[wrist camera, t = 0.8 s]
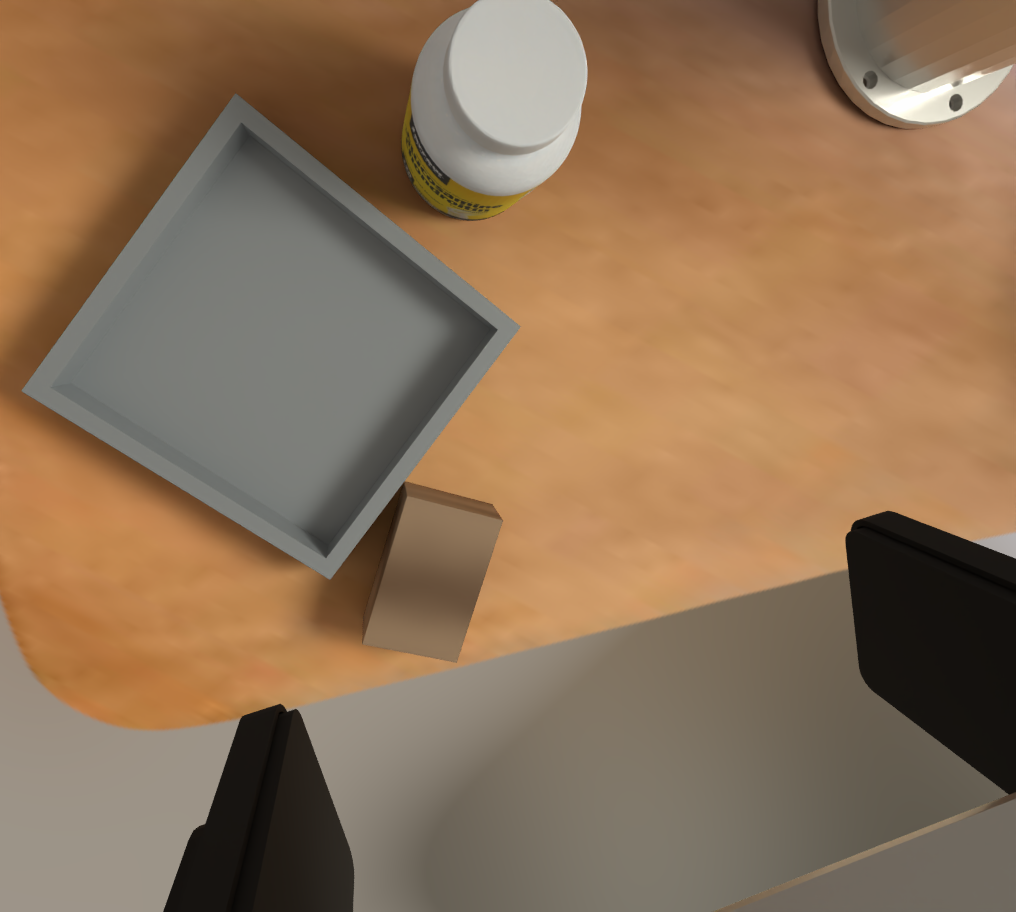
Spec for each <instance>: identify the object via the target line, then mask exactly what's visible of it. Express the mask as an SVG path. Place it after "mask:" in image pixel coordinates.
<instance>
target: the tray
mask: <svg viewBox="0 0 1016 912" xmlns="http://www.w3.org/2000/svg"><path fill="white" fill-rule="evenodd" d="M519 328H520V326H519V325H518V324H517V323H516V322H514V321H513V320H512V319H511V318H509V317H508V316H507V315H506V314H505V313H503V312H502V311H501V310H500V309H498V308H497V307H496V306H495V305H494V304H492V303H491V302H490V301H489V300H487V299H486V298H485V297H484V296H483V295H481V294H480V293H479V292H478V291H476V290H475V289H474V288H473V287H472V286H470V285H469V284H468V283H467V282H466V281H464V280H463V279H462V278H461V277H459V276H458V275H457V274H456V273H455V272H453V271H452V270H451V269H450V268H448V267H447V266H446V265H445V264H444V263H442V262H441V261H440V260H439V259H437V258H436V257H435V256H434V255H433V254H431V253H430V252H429V251H428V250H426V249H425V248H424V247H423V246H422V245H420V244H419V243H418V242H417V241H415V240H414V239H413V238H412V237H411V236H409V235H408V234H407V233H406V232H404V231H403V230H402V229H401V228H400V227H398V226H397V225H396V224H395V223H393V222H392V221H391V220H390V219H389V218H387V217H386V216H385V215H384V214H383V213H381V212H380V211H379V210H378V209H376V208H375V207H374V206H373V205H372V204H370V203H369V202H368V201H367V200H365V199H364V198H363V197H362V196H361V195H359V194H358V193H357V192H356V191H354V190H353V189H352V188H351V187H350V186H348V185H347V184H346V183H345V182H343V181H342V180H341V179H340V178H339V177H337V176H336V175H335V174H334V173H332V172H331V171H330V170H329V169H328V168H326V167H325V166H324V165H323V164H321V163H320V162H319V161H318V160H317V159H315V158H314V157H313V156H312V155H310V154H309V153H308V152H307V151H306V150H304V149H303V148H302V147H301V146H300V145H298V144H297V143H296V142H295V141H293V140H292V139H291V138H290V137H289V136H287V135H286V134H285V133H284V132H282V131H281V130H280V129H279V128H278V127H276V126H275V125H274V124H273V123H271V122H270V121H269V120H268V119H267V118H265V117H264V116H263V115H262V114H260V113H259V112H258V111H257V110H256V109H254V108H253V107H252V106H251V105H249V104H248V103H247V102H246V101H245V100H243V99H242V98H241V97H240V96H238V95H237V94H236V93H235V95H234V96H233V97H232V99H231V100H230V102H229V103H228V104H227V106H226V107H225V109H224V110H223V111H222V113H221V114H220V115H219V117H218V118H217V120H216V121H215V122H214V124H213V125H212V127H211V128H210V129H209V131H208V132H207V134H206V135H205V136H204V138H203V139H202V141H201V142H200V143H199V145H198V146H197V147H196V149H195V150H194V152H193V153H192V154H191V156H190V157H189V159H188V160H187V161H186V163H185V164H184V166H183V167H182V168H181V170H180V171H179V172H178V174H177V175H176V177H175V178H174V179H173V181H172V182H171V184H170V185H169V186H168V188H167V189H166V191H165V192H164V193H163V195H162V196H161V198H160V199H159V200H158V202H157V203H156V204H155V206H154V207H153V209H152V210H151V211H150V213H149V214H148V216H147V217H146V218H145V220H144V221H143V223H142V224H141V225H140V227H139V228H138V230H137V231H136V232H135V234H134V235H133V236H132V238H131V239H130V241H129V242H128V243H127V245H126V246H125V248H124V249H123V250H122V252H121V253H120V255H119V256H118V257H117V259H116V260H115V261H114V263H113V264H112V266H111V267H110V268H109V270H108V271H107V273H106V274H105V275H104V277H103V278H102V280H101V281H100V282H99V284H98V285H97V287H96V288H95V289H94V291H93V292H92V293H91V295H90V296H89V298H88V299H87V300H86V302H85V303H84V305H83V306H82V307H81V309H80V310H79V312H78V313H77V314H76V316H75V317H74V319H73V320H72V321H71V323H70V324H69V325H68V327H67V328H66V330H65V331H64V332H63V334H62V335H61V337H60V338H59V339H58V341H57V342H56V344H55V345H54V346H53V348H52V349H51V350H50V352H49V353H48V355H47V356H46V357H45V359H44V360H43V362H42V363H41V364H40V366H39V367H38V369H37V370H36V371H35V373H34V374H33V376H32V377H31V378H30V380H29V381H28V382H27V384H26V385H25V387H24V388H23V389H22V392H24V393H25V394H27V395H29V396H30V397H32V398H33V399H35V400H37V401H38V402H40V403H42V404H43V405H45V406H47V407H48V408H50V409H51V410H53V411H55V412H56V413H58V414H60V415H61V416H63V417H65V418H66V419H68V420H69V421H71V422H73V423H74V424H76V425H78V426H79V427H81V428H83V429H84V430H86V431H87V432H89V433H91V434H92V435H94V436H96V437H97V438H99V439H101V440H102V441H104V442H105V443H107V444H109V445H110V446H112V447H114V448H115V449H117V450H119V451H120V452H122V453H123V454H125V455H127V456H128V457H130V458H132V459H133V460H135V461H136V462H138V463H140V464H141V465H143V466H145V467H146V468H148V469H150V470H151V471H153V472H154V473H156V474H158V475H159V476H161V477H163V478H164V479H166V480H168V481H169V482H171V483H172V484H174V485H176V486H177V487H179V488H181V489H182V490H184V491H186V492H187V493H189V494H190V495H192V496H194V497H195V498H197V499H199V500H200V501H202V502H204V503H205V504H207V505H208V506H210V507H212V508H213V509H215V510H217V511H218V512H220V513H222V514H223V515H225V516H226V517H228V518H230V519H231V520H233V521H235V522H236V523H238V524H240V525H241V526H243V527H244V528H246V529H248V530H249V531H251V532H253V533H254V534H256V535H258V536H259V537H261V538H262V539H264V540H266V541H267V542H269V543H271V544H272V545H274V546H276V547H277V548H279V549H280V550H282V551H284V552H285V553H287V554H289V555H290V556H292V557H294V558H295V559H297V560H298V561H300V562H302V563H303V564H305V565H307V566H308V567H310V568H312V569H313V570H315V571H316V572H318V573H320V574H321V575H323V576H325V577H326V578H328V579H331V578H332V577H333V575H334V574H335V573H336V571H337V570H338V569H339V567H340V566H341V565H342V563H343V562H344V561H345V559H346V558H347V557H348V555H349V554H350V553H351V551H352V550H353V549H354V547H355V546H356V545H357V543H358V542H359V541H360V539H361V538H362V537H363V535H364V534H365V533H366V532H367V530H368V529H369V528H370V526H371V525H372V524H373V522H374V521H375V520H376V518H377V517H378V516H379V514H380V513H381V512H382V510H383V509H384V508H385V506H386V505H387V504H388V502H389V501H390V500H391V498H392V497H393V496H394V494H395V493H396V492H397V490H398V489H399V488H400V486H401V485H402V484H403V482H404V481H405V480H406V478H407V477H408V476H409V474H410V473H411V472H412V470H413V469H414V468H415V466H416V465H417V464H418V462H419V461H420V460H421V458H422V457H423V456H424V454H425V453H426V452H427V450H428V449H429V448H430V447H431V445H432V444H433V443H434V441H435V440H436V439H437V437H438V436H439V435H440V433H441V432H442V431H443V429H444V428H445V427H446V425H447V424H448V423H449V421H450V420H451V419H452V417H453V416H454V415H455V413H456V412H457V411H458V409H459V408H460V407H461V405H462V404H463V403H464V401H465V400H466V399H467V397H468V396H469V395H470V393H471V392H472V391H473V389H474V388H475V387H476V385H477V384H478V383H479V381H480V380H481V379H482V377H483V376H484V375H485V373H486V372H487V371H488V369H489V368H490V367H491V365H492V364H493V363H494V362H495V360H496V359H497V358H498V356H499V355H500V354H501V352H502V351H503V350H504V348H505V347H506V346H507V344H508V343H509V342H510V340H511V339H512V338H513V336H514V335H515V334H516V332H517V331H518V330H519Z"/></svg>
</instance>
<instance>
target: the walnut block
mask: <svg viewBox="0 0 1016 912" xmlns="http://www.w3.org/2000/svg"><path fill="white" fill-rule="evenodd" d="M502 522H503V520H502V518H501V517H500V515H499V514H498V512H497V511H496V509H495V508H494V506H493V505H492V504H489V503H485V502H481V501H477V500H473V499H470V498H466V497H462V496H458V495H454V494H451V493H447V492H443V491H439V490H435V489H432V488H428V487H424V486H420V485H416V484H413V483H409V482H405V481H404V484H403V487H402V491H401V494H400V497H399V500H398V504H397V507H396V510H395V514H394V517H393V520H392V524H391V527H390V530H389V534H388V537H387V540H386V544H385V547H384V550H383V553H382V557H381V560H380V563H379V567H378V570H377V573H376V577H375V580H374V583H373V587H372V590H371V593H370V597H369V600H368V603H367V606H366V610H365V613H364V616H363V638H362V644H363V645H369V646H374V647H379V648H384V649H389V650H394V651H399V652H404V653H410V654H415V655H420V656H425V657H430V658H435V659H440V660H446V661H451V662H456V663H457V660H458V657H459V654H460V651H461V648H462V645H463V642H464V638H465V635H466V632H467V629H468V626H469V623H470V620H471V617H472V614H473V611H474V608H475V605H476V602H477V599H478V596H479V592H480V589H481V586H482V583H483V580H484V577H485V574H486V571H487V568H488V565H489V562H490V559H491V556H492V553H493V550H494V546H495V543H496V540H497V537H498V534H499V531H500V528H501V525H502Z"/></svg>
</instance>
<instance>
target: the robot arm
mask: <svg viewBox="0 0 1016 912" xmlns="http://www.w3.org/2000/svg"><path fill="white" fill-rule="evenodd" d="M818 21H819V28H820V35H821V42H822V45H823V48H824V51H825V54H826V58H827V61H828V64H829V66H830V68H831V70H832V72H833V74H834V76H835V78H836V80H837V82H838V84H839V85H840V87H841V88H842V89H843V90H844V92H845V93H846V94H847V96H848V97H849V98H850V99H851V101H852V102H853V103H854V104H855V105H857V106H858V107H859V108H860V109H861V110H863V111H864V112H865V113H866V114H867V115H869V116H871V117H873V118H874V119H876V120H878V121H880V122H882V123H884V124H887V125H891V126H895V127H899V128H903V129H923V128H927V127H931V126H935V125H940V124H943V123H946V122H948V121H951V120H954V119H957V118H959V117H961V116H963V115H965V114H966V113H968V112H970V111H971V110H973V109H975V108H976V107H978V106H979V105H980V104H981V103H983V102H984V101H985V100H986V99H987V98H988V97H989V96H990V95H991V94H992V93H994V92H995V90H996V89H997V88H998V87H999V85H1000V84H1001V83H1002V81H1003V80H1004V79H1005V78H1006V76H1007V75H1008V74H1009V72H1010V70H1011V68H1012V67H1013V65H1014V64H1016V0H818ZM846 552H847V561H848V570H849V579H850V588H851V597H852V607H853V615H854V625H855V634H856V642H857V652H858V661H859V669H860V672H861V675H862V677H863V679H864V681H865V683H866V684H867V685H868V687H869V688H870V689H871V690H872V691H873V692H875V693H876V694H877V695H879V696H880V697H881V698H883V699H884V700H885V701H887V702H888V703H889V704H891V705H892V706H893V707H895V708H896V709H897V710H898V711H900V712H901V713H902V714H904V715H905V716H906V717H908V718H909V719H910V720H912V721H913V722H914V723H916V724H917V725H918V726H920V727H921V728H922V729H924V730H925V731H926V732H927V733H929V734H930V735H931V736H933V737H934V738H935V739H937V740H938V741H939V742H941V743H942V744H943V745H945V746H946V747H947V748H948V749H950V750H951V751H952V752H954V753H955V754H956V755H958V756H959V757H960V758H962V759H963V760H964V761H966V762H967V763H968V764H970V765H971V766H972V767H974V768H975V769H976V770H977V771H979V772H980V773H981V774H983V775H984V776H986V777H987V778H988V779H989V780H991V781H992V782H993V783H995V784H996V785H997V786H999V787H1000V788H1001V789H1002V790H1004V791H1005V792H1006V793H1008V794H1009V795H1008V796H1005V797H1003V798H1000V799H997V800H995V801H992V802H990V803H987V804H984V805H982V806H979V807H977V808H974V809H971V810H969V811H966V812H964V813H961V814H959V815H956V816H953V817H951V818H948V819H946V820H943V821H940V822H938V823H935V824H933V825H930V826H928V827H925V828H923V829H920V830H918V831H915V832H913V833H910V834H907V835H905V836H902V837H900V838H897V839H895V840H892V841H890V842H887V843H885V844H882V845H880V846H877V847H874V848H872V849H869V850H867V851H864V852H862V853H859V854H857V855H854V856H852V857H849V858H846V859H844V860H841V861H839V862H837V863H834V864H831V865H829V866H826V867H824V868H821V869H819V870H816V871H814V872H811V873H809V874H806V875H804V876H801V877H799V878H796V879H794V880H791V881H789V882H786V883H784V884H781V885H779V886H776V887H773V888H771V889H768V890H766V891H763V892H761V893H758V894H756V895H753V896H751V897H748V898H746V899H743V900H741V901H739V902H736V903H733V904H731V905H728V906H726V907H723V908H720V909H718V910H716V911H713V912H1016V559H1015V558H1013V557H1010V556H1007V555H1005V554H1002V553H999V552H997V551H994V550H992V549H989V548H986V547H984V546H981V545H979V544H976V543H973V542H971V541H968V540H966V539H963V538H960V537H958V536H955V535H953V534H950V533H947V532H945V531H942V530H940V529H937V528H934V527H932V526H929V525H927V524H924V523H921V522H919V521H916V520H913V519H911V518H908V517H906V516H903V515H900V514H898V513H895V512H892V511H885V512H882V513H879V514H875V515H872V516H869V517H866V518H863V519H860V520H857V521H855V522H854V523H853V525H852V528H851V531H850V532H849V533H848V534H847V535H846ZM353 894H354V867H353V860H352V855H351V851H350V848H349V845H348V842H347V839H346V837H345V834H344V831H343V829H342V826H341V823H340V820H339V818H338V815H337V812H336V809H335V807H334V804H333V801H332V799H331V796H330V793H329V791H328V787H327V785H326V782H325V779H324V777H323V774H322V771H321V768H320V766H319V763H318V760H317V757H316V755H315V752H314V749H313V746H312V744H311V741H310V738H309V735H308V733H307V730H306V728H305V725H304V722H303V719H302V717H301V714H300V713H299V711H298V710H297V709H295V710H291V711H288V712H287V711H286V709H285V707H284V706H283V705H281V704H278V705H275V706H272V707H269V708H266V709H263V710H260V711H256V712H253V713H250V714H247V715H244V716H242V718H241V719H240V722H239V725H238V728H237V731H236V734H235V737H234V740H233V743H232V746H231V749H230V752H229V755H228V758H227V761H226V764H225V767H224V770H223V773H222V776H221V779H220V782H219V785H218V788H217V791H216V794H215V797H214V800H213V803H212V806H211V809H210V812H209V815H208V818H207V821H206V824H204V825H201V826H199V827H198V828H196V829H195V830H194V831H193V833H192V835H191V837H190V838H189V841H188V843H187V846H186V849H185V852H184V855H183V858H182V860H181V863H180V866H179V869H178V872H177V874H176V877H175V880H174V883H173V886H172V889H171V891H170V894H169V897H168V900H167V903H166V905H165V908H164V911H163V912H353Z"/></svg>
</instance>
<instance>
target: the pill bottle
mask: <svg viewBox="0 0 1016 912" xmlns="http://www.w3.org/2000/svg"><path fill="white" fill-rule="evenodd" d="M586 86H587V61H586V55H585V51H584V47H583V44H582V41H581V39H580V36H579V34H578V32H577V30H576V29H575V27H574V25H573V24H572V22H571V20H570V19H569V18H568V17H567V16H566V14H565V13H564V12H563V11H562V10H561V9H560V8H559V7H558V6H556V5H555V4H554V3H552V2H551V1H550V0H478V1H477V2H475V3H474V4H473V5H472V6H471V7H470V8H467V9H464V10H462V11H460V12H458V13H456V14H454V15H452V16H451V17H449V18H448V19H447V20H445V21H444V22H443V23H442V24H441V25H440V26H439V27H438V28H437V29H436V30H435V31H434V32H433V33H432V34H431V36H430V37H429V39H428V40H427V42H426V43H425V45H424V47H423V49H422V51H421V53H420V55H419V58H418V60H417V63H416V66H415V70H414V73H413V78H412V82H411V88H410V94H409V99H408V104H407V108H406V113H405V119H404V124H403V130H402V137H401V149H402V157H403V162H404V166H405V169H406V172H407V175H408V177H409V179H410V181H411V183H412V185H413V187H414V188H415V190H416V191H417V192H418V194H419V195H420V196H421V197H422V198H423V200H425V201H426V202H427V203H428V204H429V205H430V206H431V207H433V208H434V209H435V210H437V211H439V212H440V213H442V214H444V215H446V216H449V217H452V218H456V219H460V220H467V221H475V220H483V219H487V218H490V217H493V216H495V215H498V214H500V213H502V212H503V211H505V210H506V209H508V208H509V207H510V206H512V205H513V204H515V203H516V202H517V201H519V200H520V199H521V198H523V197H524V196H526V195H527V194H528V193H530V192H531V191H532V190H534V189H535V188H536V187H537V186H539V185H540V184H541V183H543V182H544V181H545V180H547V179H548V178H549V177H550V176H551V175H552V174H553V173H554V172H555V171H556V170H557V169H558V168H559V167H560V166H561V164H562V163H563V162H564V160H565V159H566V157H567V155H568V154H569V152H570V150H571V148H572V146H573V144H574V141H575V139H576V136H577V132H578V129H579V124H580V118H581V104H582V102H583V99H584V95H585V91H586Z"/></svg>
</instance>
